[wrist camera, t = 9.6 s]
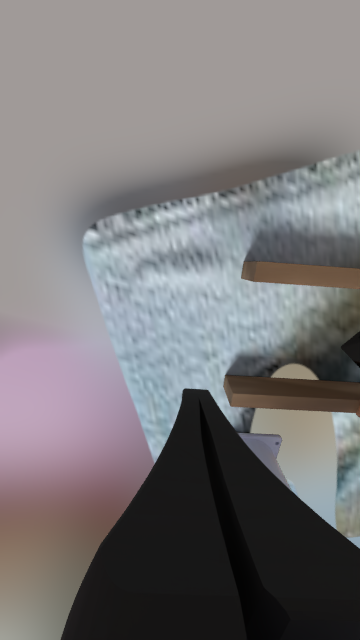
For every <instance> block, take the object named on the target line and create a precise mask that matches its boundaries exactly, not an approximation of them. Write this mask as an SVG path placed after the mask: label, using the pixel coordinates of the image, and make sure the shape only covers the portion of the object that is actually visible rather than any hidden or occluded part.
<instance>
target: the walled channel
mask: <svg viewBox="0 0 360 640" xmlns="http://www.w3.org/2000/svg"><path fill="white" fill-rule="evenodd" d="M241 279H245V280H249V281H253V282H267V283H281V284H296V285H310V286H324V287H339V288H353V289H360V269H357V268H343V267H329V266H316V265H302V264H288V263H274V262H260V261H250V262H244V264H243V270H242V276H241ZM223 387H224V390H225V392H226V395H227V398H228V401H229V403H230V406H231V407H250V408H270V409H289V410H308V411H328V412H346V413H356V415H357V416H358V417H360V383H359V382H341V381H323V380H306V379H288V378H270V377H252V376H234V375H225V380H224V386H223Z"/></svg>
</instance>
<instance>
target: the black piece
mask: <svg viewBox="0 0 360 640" xmlns="http://www.w3.org/2000/svg"><path fill="white" fill-rule="evenodd" d="M341 348H342V349H343V350H344V352H345V353H346V354H347V355H348V356H349V357H350V358H351V359H352V360H353V361H354V362H355V363H356V364H357V365H358V366H359V368H360V332H358V333H357V334H356V335H355V336H353V337H352V338H351V339H350V340H348V341H347V342H346V343H345V344H343V345H342V346H341Z"/></svg>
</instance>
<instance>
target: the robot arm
mask: <svg viewBox="0 0 360 640" xmlns="http://www.w3.org/2000/svg"><path fill="white" fill-rule="evenodd" d="M281 442H282V438H281V436H280V435H273V434H254V433H237V432H236V431H235V429H234V428H233V427H232V425H231V424H230V422H229V421H228V420H227V418H226V417H225V415H224V414H223V413H222V411H221V410H220V408H219V407H218V405H217V403H216V402H215V400H214V399H213V397H212V395H211V394H210V392H209V391H208V390H201V389H184V390H183V393H182V402H181V406H180V409H179V412H178V415H177V418H176V421H175V423H174V426H173V428H172V431H171V433H170V435H169V438H168V440H167V442H166V444H165V446H164V448H163V450H162V452H161V454H160V456H159V457H158V459H157V461H156V463H155V465H154V466H153V468H152V470H151V472H150V473H149V475H148V477H147V478H146V480H145V481H144V483H143V484H142V486H141V488H140V489H139V491H138V492H137V494H136V495H135V497H134V498H133V500H132V501H131V503H130V504H129V506H128V507H127V509H126V510H125V512H124V513H123V514H122V516H121V517H120V519H119V520H118V521H117V523H116V524H115V525H114V527H113V528H112V529H111V531H110V532H109V533H108V535H107V536H106V538H105V539H104V540H103V542H102V543H101V545H100V546H99V548H98V551H97V552H96V554H95V557H94V559H93V560H92V562H91V564H90V566H89V569H88V571H87V573H86V575H85V577H84V579H83V581H82V583H81V586H80V588H79V590H78V593H77V595H76V597H75V600H74V603H73V605H72V608H71V610H70V613H69V616H68V619H67V622H66V625H65V628H64V631H63V634H62V637H61V640H360V549H359V548H358V547H357V546H356V545H354V544H353V543H352V542H351V541H349V540H348V539H347V538H346V537H344V536H343V535H342V534H341V533H340V532H338V531H337V530H336V529H335V528H333V527H332V526H331V525H329V524H328V523H327V522H326V521H325V520H324V519H322V518H321V517H320V516H319V515H318V514H317V513H315V512H314V511H313V510H312V509H311V508H310V507H309V506H307V505H306V504H305V503H304V502H303V501H301V499H300V498H298V497H297V496H296V495H295V494H294V493H293V492H292V490H291V488H290V486H289V484H288V482H287V480H286V478H285V476H284V474H283V472H282V470H281V468H280V466H279V464H278V462H277V460H276V458H277V454H278V451H279V448H280V445H281Z"/></svg>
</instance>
